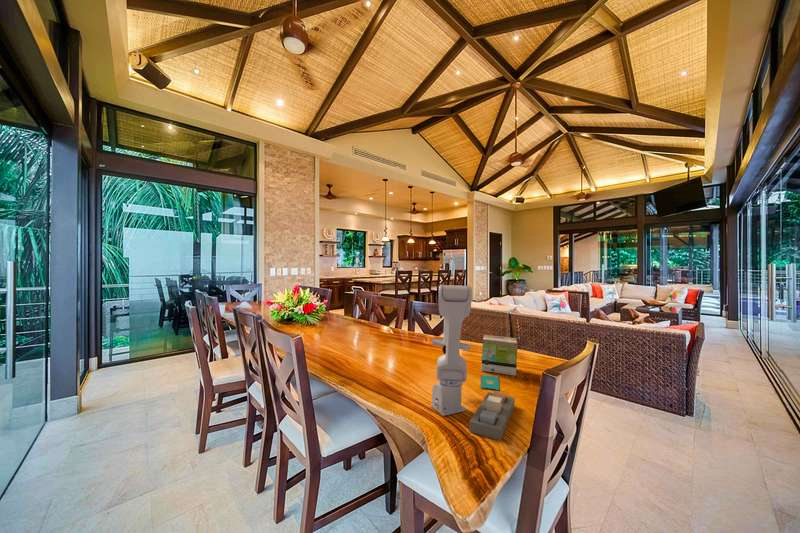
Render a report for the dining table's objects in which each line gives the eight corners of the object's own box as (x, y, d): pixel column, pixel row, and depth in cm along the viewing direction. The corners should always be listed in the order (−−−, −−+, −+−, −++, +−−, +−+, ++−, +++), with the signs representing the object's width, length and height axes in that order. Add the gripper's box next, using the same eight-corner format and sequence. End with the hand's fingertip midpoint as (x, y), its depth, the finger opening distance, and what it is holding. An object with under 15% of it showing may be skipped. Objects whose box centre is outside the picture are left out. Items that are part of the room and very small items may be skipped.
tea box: (481, 371, 144) (482, 339, 143) (482, 364, 153) (483, 334, 153) (516, 376, 139) (517, 342, 139) (515, 368, 149) (516, 337, 148)
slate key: (493, 434, 92) (493, 418, 92) (479, 430, 94) (480, 415, 94) (496, 427, 96) (496, 413, 96) (482, 424, 98) (483, 409, 98)
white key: (499, 416, 99) (499, 402, 99) (486, 413, 101) (486, 399, 101) (501, 411, 103) (502, 398, 103) (488, 408, 105) (489, 395, 105)
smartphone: (498, 376, 137) (500, 390, 123) (498, 378, 137) (500, 392, 123) (481, 374, 139) (480, 387, 125) (481, 376, 139) (480, 389, 125)
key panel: (500, 440, 89) (501, 430, 89) (469, 431, 94) (469, 421, 94) (514, 406, 111) (514, 397, 111) (488, 400, 115) (488, 391, 115)
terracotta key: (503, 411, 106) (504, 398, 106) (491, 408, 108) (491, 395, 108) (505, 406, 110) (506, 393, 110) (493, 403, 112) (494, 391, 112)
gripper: (472, 331, 122) (471, 366, 122) (437, 326, 129) (436, 360, 129) (467, 335, 116) (466, 372, 116) (430, 329, 122) (429, 365, 123)
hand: (450, 366), depth 122 cm, fingers closed
